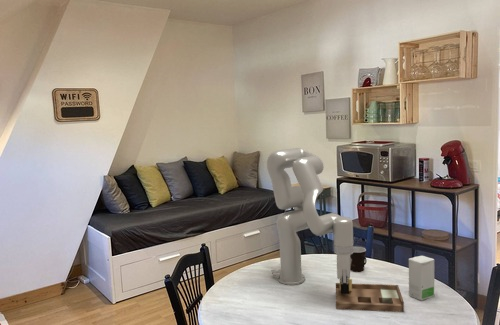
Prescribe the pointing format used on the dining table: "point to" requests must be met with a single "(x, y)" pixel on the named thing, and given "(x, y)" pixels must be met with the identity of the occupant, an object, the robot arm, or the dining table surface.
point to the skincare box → (421, 277)
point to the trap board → (370, 298)
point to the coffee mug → (358, 259)
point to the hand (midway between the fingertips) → (344, 292)
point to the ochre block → (349, 284)
